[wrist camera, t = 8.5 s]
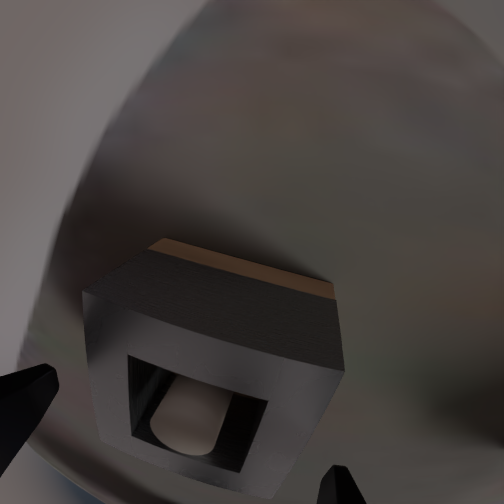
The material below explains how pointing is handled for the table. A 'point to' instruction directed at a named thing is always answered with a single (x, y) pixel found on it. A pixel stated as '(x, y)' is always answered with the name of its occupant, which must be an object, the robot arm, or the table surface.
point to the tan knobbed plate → (200, 393)
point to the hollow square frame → (211, 364)
